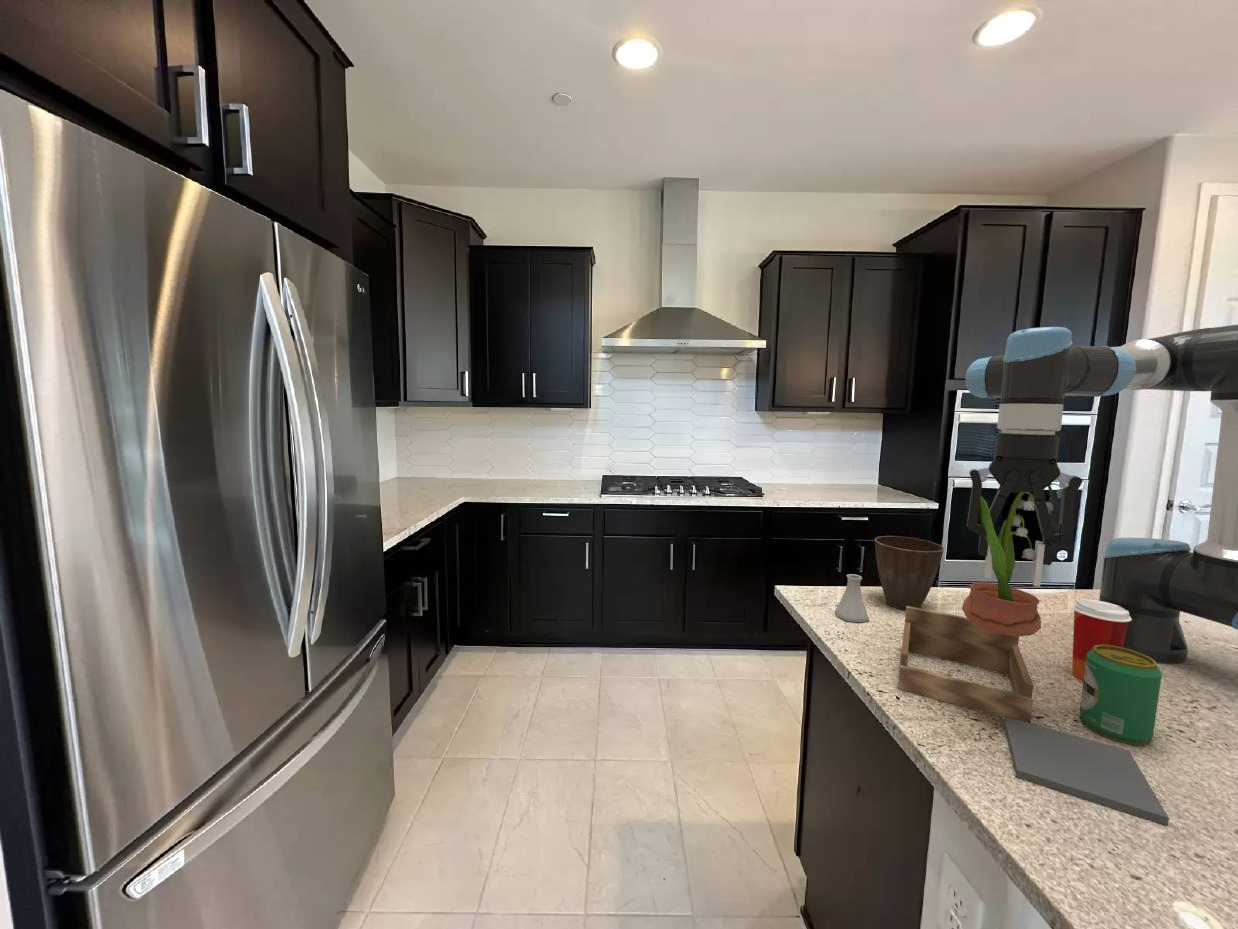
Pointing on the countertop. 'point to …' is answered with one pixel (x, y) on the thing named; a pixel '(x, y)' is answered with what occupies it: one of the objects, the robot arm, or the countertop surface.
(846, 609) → the flask
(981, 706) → the frame
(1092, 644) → the paper cup
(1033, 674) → the countertop surface
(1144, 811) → the mat
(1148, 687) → the beverage can
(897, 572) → the plant pot
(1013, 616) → the potted flower
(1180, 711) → the countertop surface
